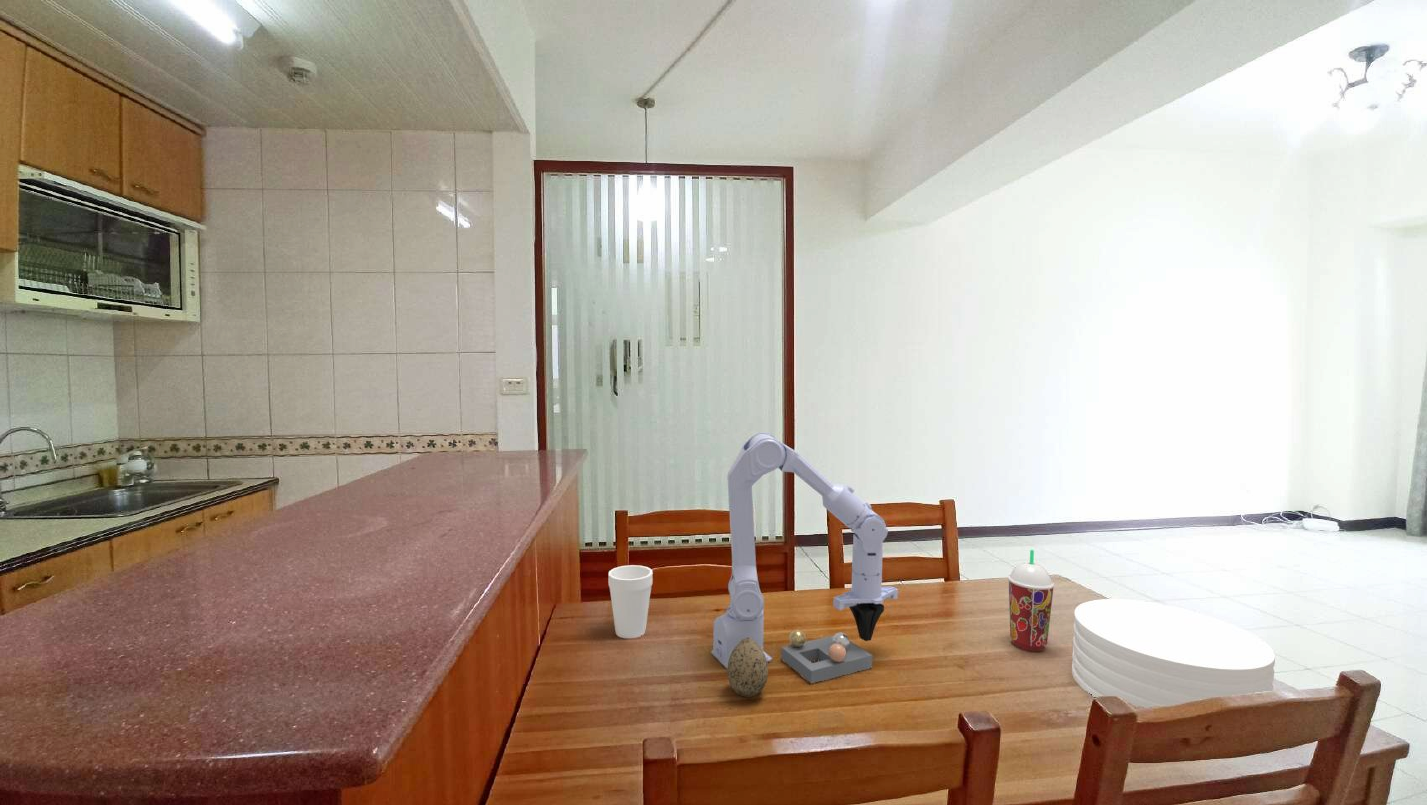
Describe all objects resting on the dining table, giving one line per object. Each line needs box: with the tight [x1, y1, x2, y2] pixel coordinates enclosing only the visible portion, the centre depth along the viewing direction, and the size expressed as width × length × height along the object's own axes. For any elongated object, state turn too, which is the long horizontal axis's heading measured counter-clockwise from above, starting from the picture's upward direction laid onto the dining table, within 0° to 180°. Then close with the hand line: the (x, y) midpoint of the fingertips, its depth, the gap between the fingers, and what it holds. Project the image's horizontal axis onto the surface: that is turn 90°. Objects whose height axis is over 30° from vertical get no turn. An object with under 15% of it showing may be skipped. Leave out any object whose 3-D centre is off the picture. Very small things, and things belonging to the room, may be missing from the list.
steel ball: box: [833, 632, 850, 649], centre depth 115 cm, size 3×3×3 cm
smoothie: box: [1007, 549, 1055, 652], centre depth 123 cm, size 8×8×20 cm
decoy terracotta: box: [829, 643, 846, 662], centre depth 111 cm, size 3×3×3 cm
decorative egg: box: [726, 638, 769, 698], centre depth 103 cm, size 7×7×10 cm
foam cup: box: [607, 564, 654, 639], centre depth 127 cm, size 10×9×13 cm
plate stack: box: [1071, 598, 1276, 708], centre depth 106 cm, size 28×28×12 cm
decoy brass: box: [788, 629, 807, 647], centre depth 116 cm, size 3×3×3 cm
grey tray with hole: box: [780, 634, 874, 684], centre depth 114 cm, size 14×10×2 cm
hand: (865, 638), depth 118 cm, fingers closed
